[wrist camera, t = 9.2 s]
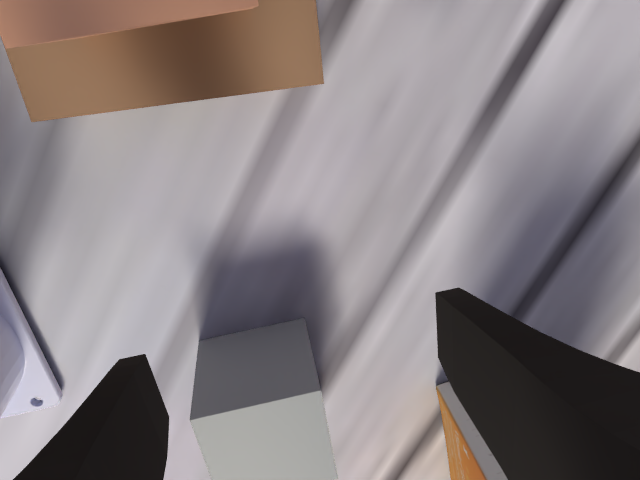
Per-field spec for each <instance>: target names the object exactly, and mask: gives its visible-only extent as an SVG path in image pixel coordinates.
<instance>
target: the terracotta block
mask: <svg viewBox="0 0 640 480" xmlns="http://www.w3.org/2000/svg"><path fill="white" fill-rule="evenodd" d="M258 6H259V4H258V0H0V35H1V38H2V40H3V43H4V45H5V47H6V49H8V48H15V47H21V46H28V45H35V44H42V43H49V42H56V41H63V40H69V39H76V38H83V37H89V36H94V35H100V34H106V33H112V32H118V31H124V30H130V29H136V28H142V27H148V26H154V25H159V24H165V23H171V22H177V21H183V20H189V19H195V18H201V17H207V16H213V15H218V14H224V13H230V12H236V11H242V10H248V9H253V8H255V7H258Z"/></svg>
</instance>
